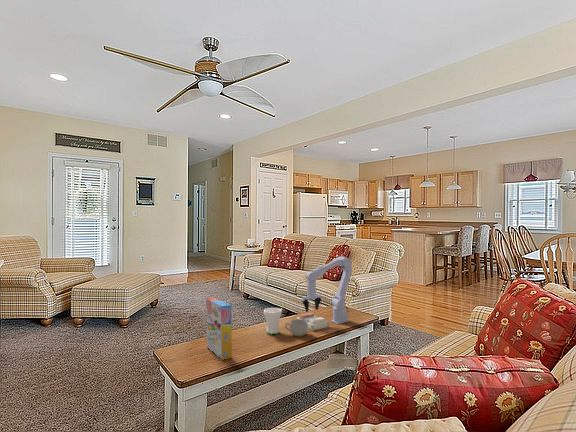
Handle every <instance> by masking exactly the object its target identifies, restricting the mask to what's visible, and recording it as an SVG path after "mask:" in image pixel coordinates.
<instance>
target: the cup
mask: <svg viewBox="0 0 576 432" xmlns="http://www.w3.org/2000/svg"><path fill="white" fill-rule="evenodd" d="M282 311H283V310H282V308H280V307H267V308H264V310H263V316H264V318H265V321H266V334H267V335H270V336H273V335H276V336H277V335H278V334H279V332H280V327H279V325H280V319H281V316H282V314H283V313H282Z"/></svg>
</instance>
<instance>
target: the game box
mask: <svg viewBox="0 0 576 432" xmlns="http://www.w3.org/2000/svg"><path fill="white" fill-rule="evenodd" d="M205 305H206V306H205V307H206V309H205V310H206V315H205V316H206V348H207V347H208V348H209V349H210V350H209V349H208V348H207V349H208V350H209V351H210V352H212V351H213V352H214V353H215V354H216V355H215V354H214V353H213V352H212V353H213V354H214V355H215V356H217V357H218V358H219V357H220V358H219V359H220V360H221V361H225V360H228V359H231V358H232V357H233V354H232V352H233V351H232V347H233V345H232V344H233V343H232V342H233V341H232V304H230V303H228V302H225V301H223V300H221V299H219V298H217V297H208V298H206V299H205ZM224 359H225V360H224Z"/></svg>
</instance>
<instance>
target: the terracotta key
mask: <svg viewBox="0 0 576 432" xmlns="http://www.w3.org/2000/svg"><path fill="white" fill-rule="evenodd" d="M314 316H315V313H313V312H306V313H302V314H299V316H298V317H299V318H300V319H305V318H310V317H314Z"/></svg>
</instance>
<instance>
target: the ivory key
mask: <svg viewBox="0 0 576 432" xmlns="http://www.w3.org/2000/svg"><path fill="white" fill-rule="evenodd" d="M318 317H319V318H314V319H309V323H310V324H312V325H313V324H318V323H323V322H325V321H326V320H325V318H324V317H322V316H318Z"/></svg>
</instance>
